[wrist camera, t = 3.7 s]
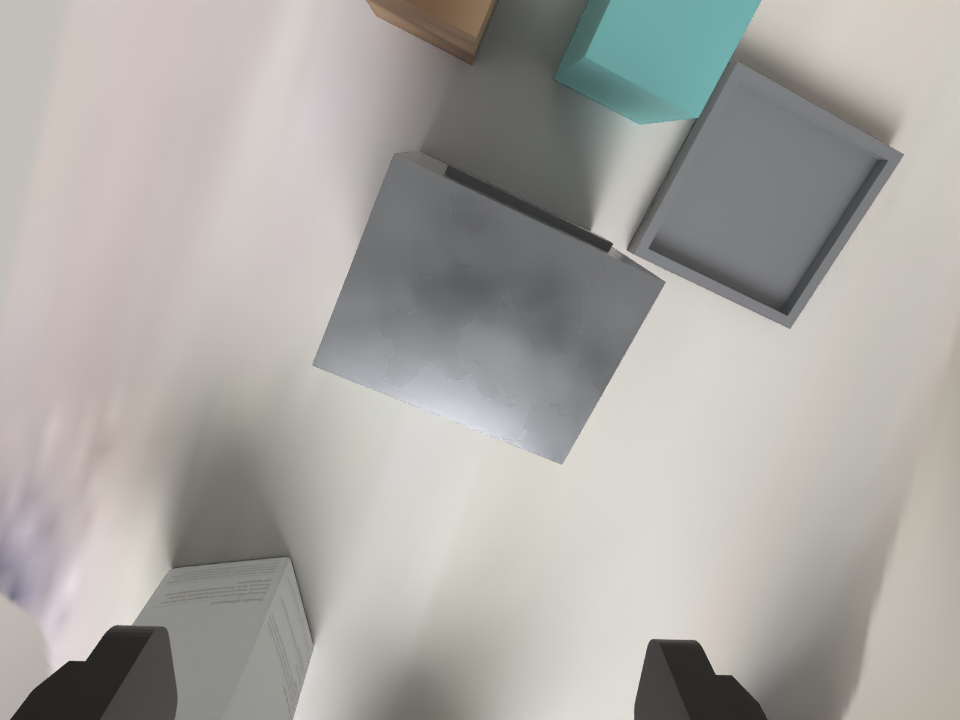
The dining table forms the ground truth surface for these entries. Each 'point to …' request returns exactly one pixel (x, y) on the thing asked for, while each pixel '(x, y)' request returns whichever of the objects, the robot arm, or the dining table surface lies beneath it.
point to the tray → (762, 196)
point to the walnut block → (441, 22)
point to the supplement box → (234, 638)
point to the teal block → (653, 54)
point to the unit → (484, 308)
